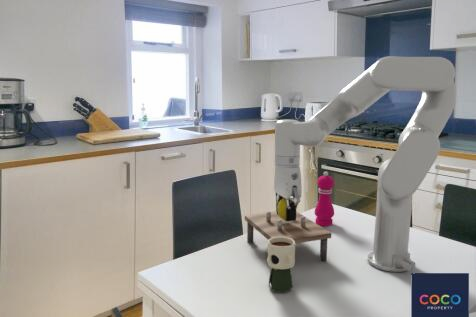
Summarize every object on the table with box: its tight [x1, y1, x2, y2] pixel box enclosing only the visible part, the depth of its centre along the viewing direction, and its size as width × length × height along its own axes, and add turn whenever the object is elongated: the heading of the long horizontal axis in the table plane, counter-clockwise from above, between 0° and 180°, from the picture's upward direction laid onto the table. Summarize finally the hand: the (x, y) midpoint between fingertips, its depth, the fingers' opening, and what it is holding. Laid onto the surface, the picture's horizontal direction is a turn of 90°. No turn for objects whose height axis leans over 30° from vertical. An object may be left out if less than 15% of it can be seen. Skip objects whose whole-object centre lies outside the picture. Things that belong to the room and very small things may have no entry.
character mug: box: [266, 237, 296, 293], centre depth 110 cm, size 11×7×13 cm, turn 25°
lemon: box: [276, 198, 293, 221], centre depth 132 cm, size 6×6×8 cm
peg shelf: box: [244, 210, 332, 263], centre depth 133 cm, size 24×18×12 cm
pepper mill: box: [314, 171, 335, 227], centre depth 157 cm, size 7×7×20 cm
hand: (286, 216), depth 132 cm, fingers open, 5 cm apart
